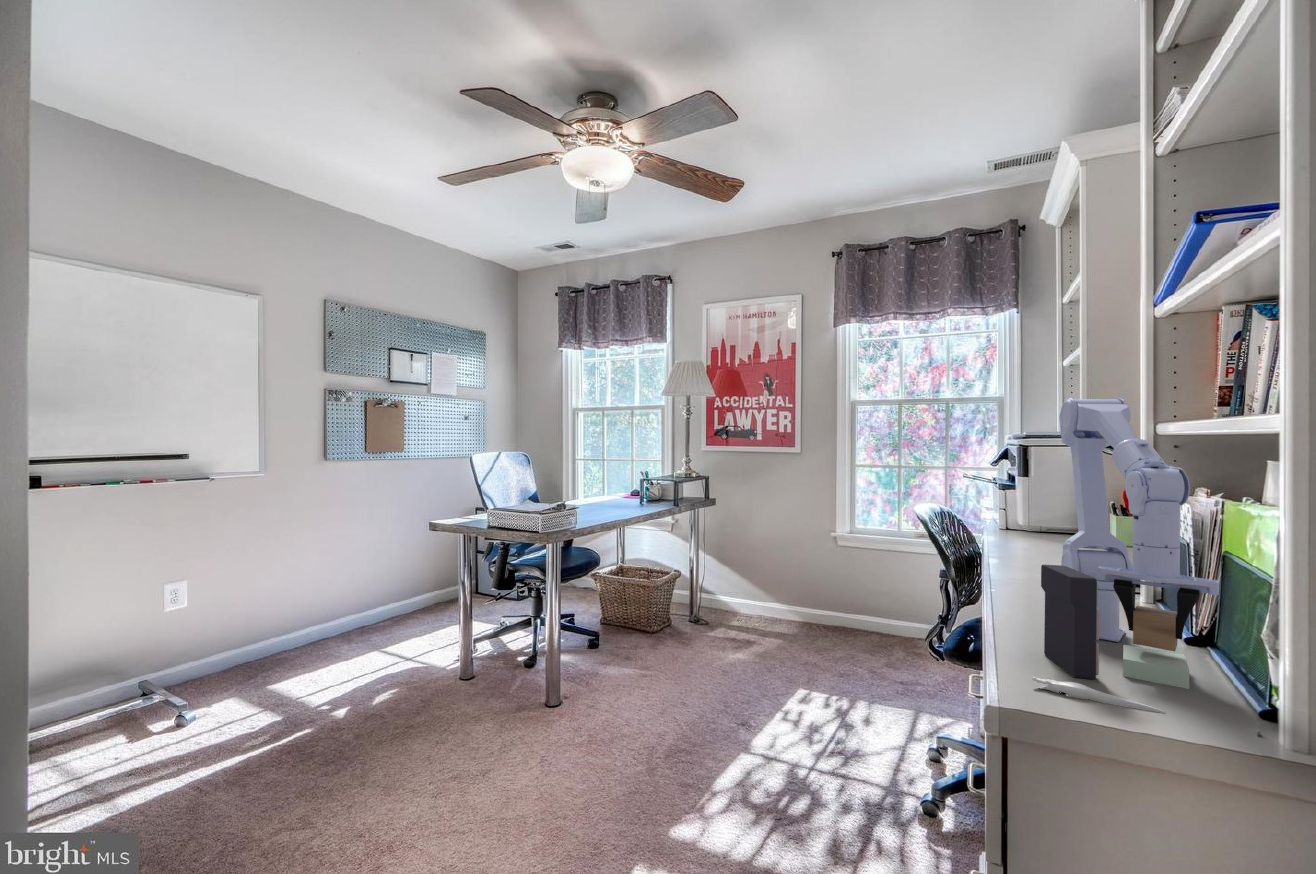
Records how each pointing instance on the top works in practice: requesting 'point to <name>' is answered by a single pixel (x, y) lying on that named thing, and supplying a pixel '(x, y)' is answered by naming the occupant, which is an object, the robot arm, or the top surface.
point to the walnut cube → (1155, 628)
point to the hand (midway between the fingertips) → (1155, 633)
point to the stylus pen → (1090, 694)
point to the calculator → (1071, 620)
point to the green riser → (1155, 666)
